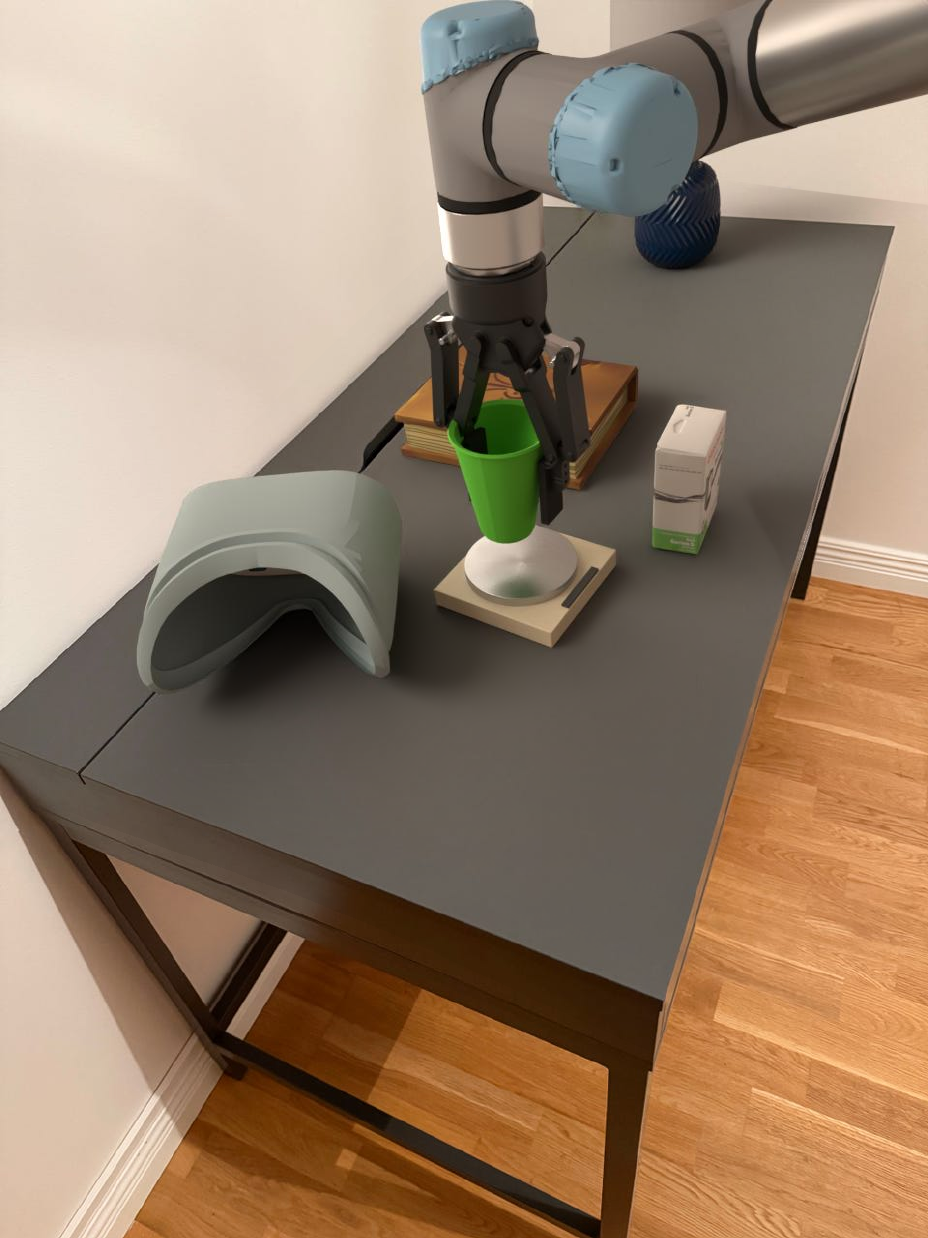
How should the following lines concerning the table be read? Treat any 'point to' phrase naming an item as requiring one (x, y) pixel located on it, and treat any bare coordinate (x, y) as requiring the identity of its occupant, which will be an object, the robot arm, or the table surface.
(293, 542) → the grey arched shell
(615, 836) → the table surface
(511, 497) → the cup
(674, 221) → the lamp
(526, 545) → the scale pan
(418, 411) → the diary
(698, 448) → the ink box
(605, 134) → the robot arm
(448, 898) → the table surface
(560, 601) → the scale
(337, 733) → the table surface
